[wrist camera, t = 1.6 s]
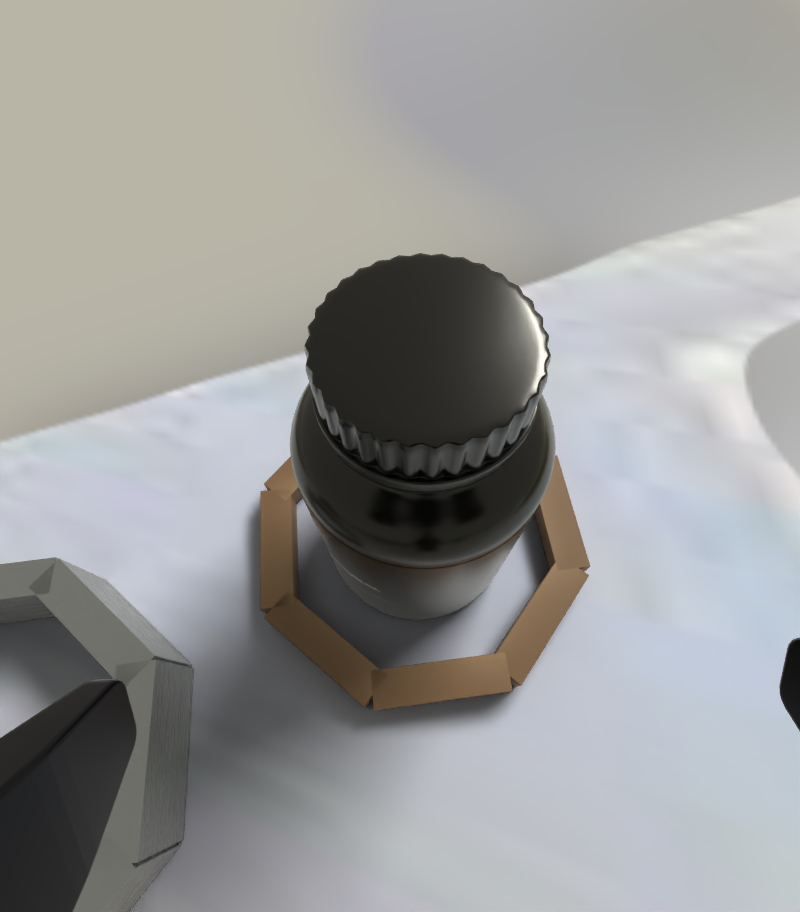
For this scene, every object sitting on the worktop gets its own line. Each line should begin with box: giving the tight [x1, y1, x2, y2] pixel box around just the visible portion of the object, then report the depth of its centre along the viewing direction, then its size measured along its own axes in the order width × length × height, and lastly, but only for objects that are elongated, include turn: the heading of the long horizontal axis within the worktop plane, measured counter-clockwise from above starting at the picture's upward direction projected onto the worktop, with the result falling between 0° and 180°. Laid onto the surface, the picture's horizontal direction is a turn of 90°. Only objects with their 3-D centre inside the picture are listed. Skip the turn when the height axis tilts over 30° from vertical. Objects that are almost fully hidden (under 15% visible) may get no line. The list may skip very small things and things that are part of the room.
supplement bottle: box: [290, 253, 555, 619], centre depth 15 cm, size 7×7×12 cm
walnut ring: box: [260, 455, 590, 710], centre depth 20 cm, size 12×12×1 cm
